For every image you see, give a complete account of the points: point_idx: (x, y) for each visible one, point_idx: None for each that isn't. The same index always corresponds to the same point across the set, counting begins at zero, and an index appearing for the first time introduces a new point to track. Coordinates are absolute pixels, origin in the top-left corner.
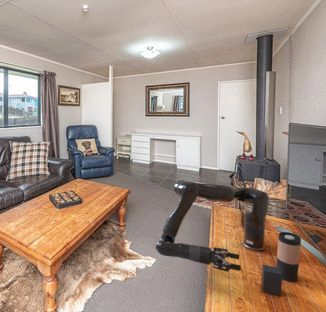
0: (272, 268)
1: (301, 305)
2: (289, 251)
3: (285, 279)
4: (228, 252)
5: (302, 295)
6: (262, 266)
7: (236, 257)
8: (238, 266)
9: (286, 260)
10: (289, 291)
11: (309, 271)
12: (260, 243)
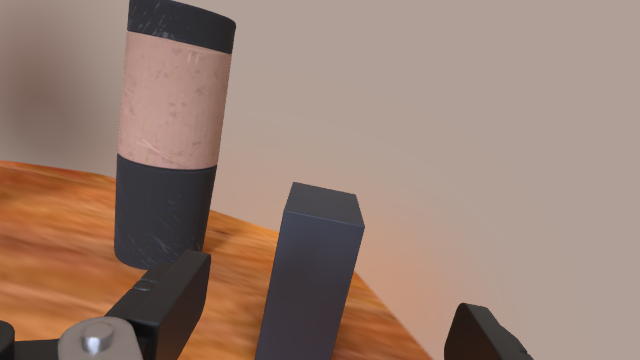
0: (314, 197)
1: (351, 282)
2: (223, 93)
3: None
4: (123, 333)
5: None
6: (297, 220)
7: (196, 306)
8: (493, 327)
9: (209, 152)
10: None
11: None
12: None
